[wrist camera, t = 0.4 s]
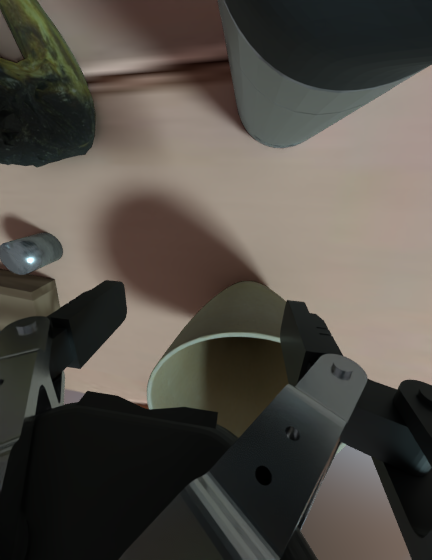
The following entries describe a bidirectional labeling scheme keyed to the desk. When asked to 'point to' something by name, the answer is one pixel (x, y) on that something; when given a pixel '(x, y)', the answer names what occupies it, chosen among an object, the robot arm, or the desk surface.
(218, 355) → the plant pot
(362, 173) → the desk surface
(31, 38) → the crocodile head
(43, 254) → the short pin
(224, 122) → the desk surface
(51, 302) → the hole board
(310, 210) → the desk surface
